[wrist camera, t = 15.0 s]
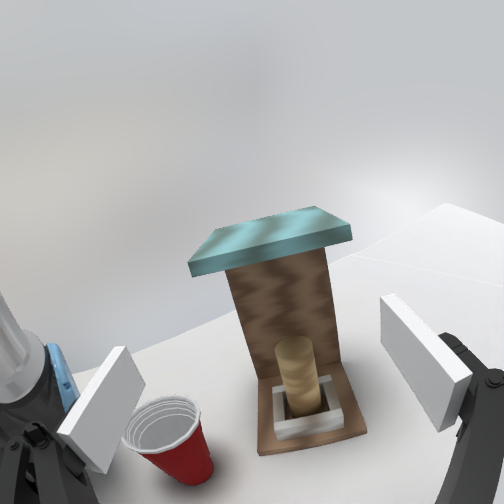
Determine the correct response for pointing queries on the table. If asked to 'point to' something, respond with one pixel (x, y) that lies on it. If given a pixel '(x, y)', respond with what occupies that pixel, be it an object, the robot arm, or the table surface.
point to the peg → (299, 376)
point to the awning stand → (287, 318)
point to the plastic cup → (171, 438)
